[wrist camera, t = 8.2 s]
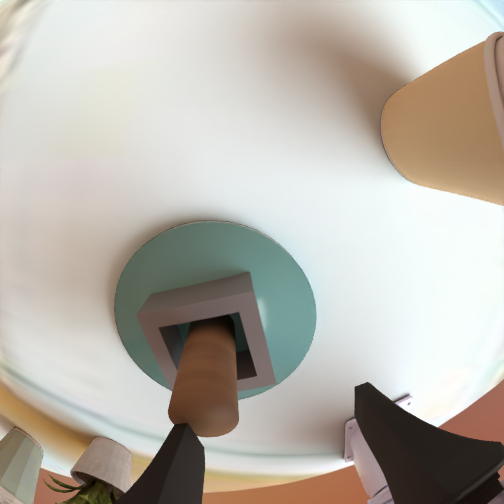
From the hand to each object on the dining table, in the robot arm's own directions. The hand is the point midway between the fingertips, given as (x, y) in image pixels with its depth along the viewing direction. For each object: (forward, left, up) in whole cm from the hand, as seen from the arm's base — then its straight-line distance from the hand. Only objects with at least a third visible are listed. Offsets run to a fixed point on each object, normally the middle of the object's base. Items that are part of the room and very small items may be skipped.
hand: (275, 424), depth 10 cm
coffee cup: (+11, -15, -10) cm, 21 cm away
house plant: (-14, +22, -10) cm, 28 cm away
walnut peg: (+1, +3, -8) cm, 9 cm away
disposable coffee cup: (-17, +41, -10) cm, 45 cm away
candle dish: (+1, +3, -9) cm, 10 cm away
